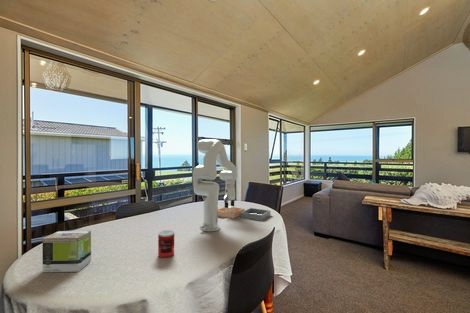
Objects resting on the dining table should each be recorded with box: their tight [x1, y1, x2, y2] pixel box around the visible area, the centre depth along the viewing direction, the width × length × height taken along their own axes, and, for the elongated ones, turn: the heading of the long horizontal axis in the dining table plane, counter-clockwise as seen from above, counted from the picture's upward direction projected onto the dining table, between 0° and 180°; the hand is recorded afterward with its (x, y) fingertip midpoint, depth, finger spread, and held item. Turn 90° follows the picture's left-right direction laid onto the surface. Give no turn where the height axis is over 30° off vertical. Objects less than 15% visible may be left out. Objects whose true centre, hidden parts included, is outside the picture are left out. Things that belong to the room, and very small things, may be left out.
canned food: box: [157, 229, 175, 259], centre depth 116 cm, size 8×8×11 cm
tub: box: [218, 206, 246, 219], centre depth 191 cm, size 18×18×5 cm
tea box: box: [42, 230, 92, 273], centre depth 103 cm, size 15×10×15 cm, turn 92°
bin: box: [239, 207, 271, 222], centre depth 185 cm, size 18×18×5 cm
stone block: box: [225, 205, 236, 213], centre depth 191 cm, size 6×6×6 cm
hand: (229, 206), depth 190 cm, fingers open, 9 cm apart
